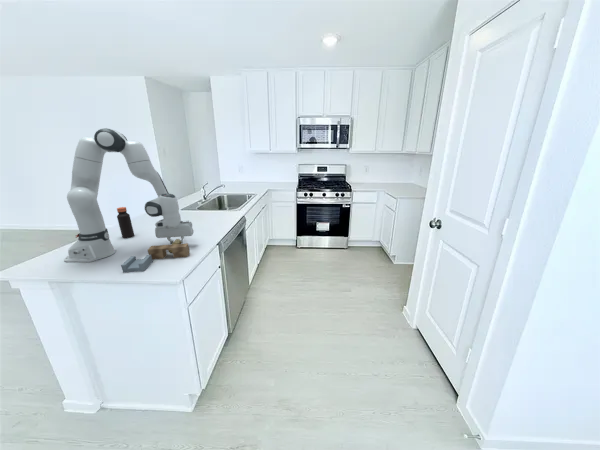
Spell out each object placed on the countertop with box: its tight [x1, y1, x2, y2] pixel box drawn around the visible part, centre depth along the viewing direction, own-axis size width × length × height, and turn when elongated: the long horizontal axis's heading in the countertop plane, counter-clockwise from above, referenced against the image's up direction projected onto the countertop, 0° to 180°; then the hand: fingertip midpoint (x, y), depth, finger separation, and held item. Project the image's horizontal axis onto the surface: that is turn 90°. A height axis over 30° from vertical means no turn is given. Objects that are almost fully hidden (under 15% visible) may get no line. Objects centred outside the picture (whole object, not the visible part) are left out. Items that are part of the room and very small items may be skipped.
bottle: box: [116, 206, 135, 239], centre depth 161 cm, size 7×7×20 cm
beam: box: [147, 242, 190, 261], centre depth 134 cm, size 19×5×6 cm, turn 100°
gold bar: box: [167, 238, 182, 254], centre depth 143 cm, size 12×4×4 cm, turn 10°
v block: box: [121, 254, 153, 274], centre depth 123 cm, size 10×10×4 cm
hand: (176, 243), depth 146 cm, fingers closed on gold bar, 4 cm apart
